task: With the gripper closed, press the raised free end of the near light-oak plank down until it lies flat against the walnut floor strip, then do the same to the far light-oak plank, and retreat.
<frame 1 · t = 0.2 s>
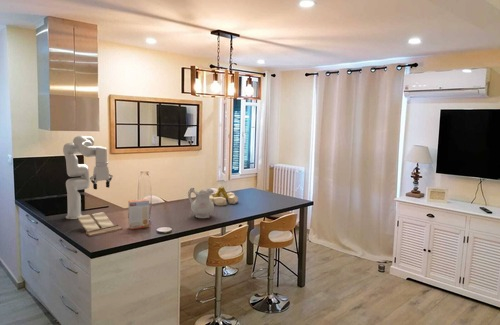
hand: (101, 188, 262), 31 cm above the kitchen counter, fingers open, 9 cm apart
plank near: (88, 223, 266), point 4 cm above the kitchen counter, hinge at 25.0°
plank far: (103, 220, 274), point 4 cm above the kitchen counter, hinge at 25.0°
laid floor strip: (104, 231, 262), on the kitchen counter
ceramic pitcher: (200, 216, 312), on the kitchen counter
campfire: (219, 202, 368), on the kitchen counter
cracker box: (138, 227, 275), on the kitchen counter
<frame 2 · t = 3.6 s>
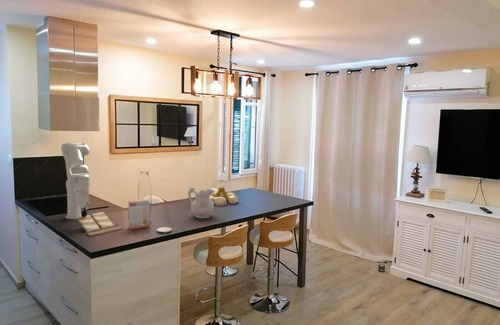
hand: (84, 216, 269), 8 cm above the kitchen counter, fingers closed
plank near: (88, 223, 266), point 4 cm above the kitchen counter, hinge at 24.0°, touching gripper
everything else where it was.
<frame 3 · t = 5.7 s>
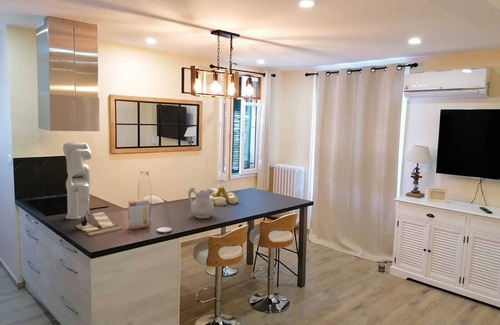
hand: (84, 225, 270), 1 cm above the kitchen counter, fingers closed
plank near: (88, 228, 267), point 1 cm above the kitchen counter, hinge at 0.8°, touching gripper
everything else where it was.
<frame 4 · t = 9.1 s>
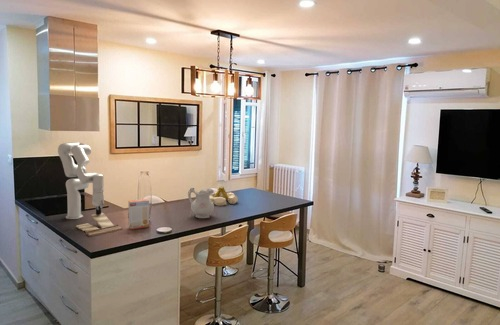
hand: (98, 214, 278), 8 cm above the kitchen counter, fingers closed
plank near: (88, 228, 267), point 1 cm above the kitchen counter, hinge at 0.8°
plank far: (103, 221, 274), point 4 cm above the kitchen counter, hinge at 22.4°
everything else where it was.
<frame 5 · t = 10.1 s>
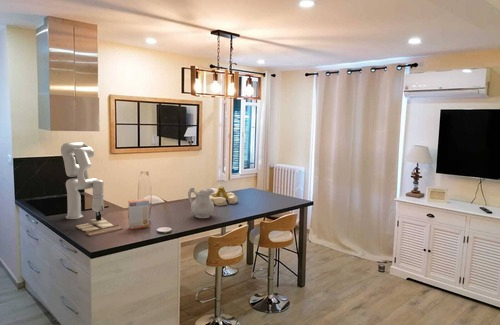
hand: (98, 219, 278), 4 cm above the kitchen counter, fingers closed
plank far: (102, 223, 275), point 2 cm above the kitchen counter, hinge at 8.1°, touching gripper
everything else where it was.
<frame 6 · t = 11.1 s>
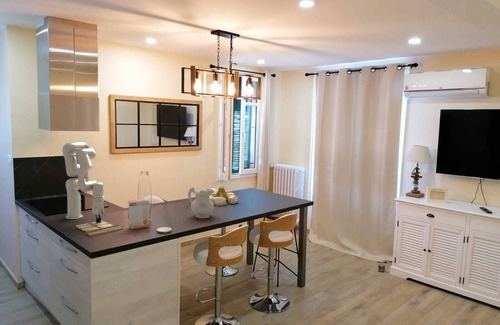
hand: (98, 222, 279), 1 cm above the kitchen counter, fingers closed
plank far: (102, 225, 275), point 1 cm above the kitchen counter, hinge at 0.7°, touching gripper
everything else where it was.
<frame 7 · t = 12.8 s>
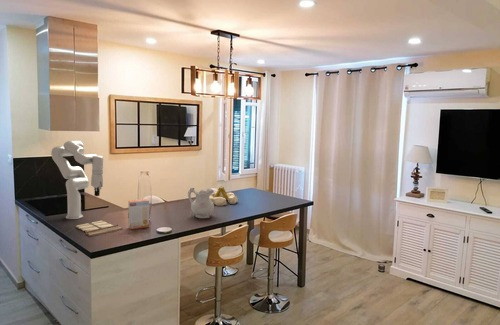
hand: (96, 195, 279), 21 cm above the kitchen counter, fingers closed
plank far: (102, 225, 275), point 1 cm above the kitchen counter, hinge at 0.7°
everything else where it was.
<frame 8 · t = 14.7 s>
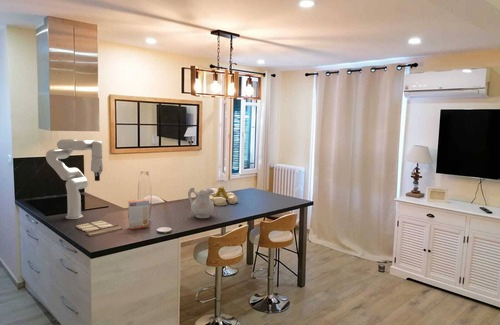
hand: (97, 180, 283), 32 cm above the kitchen counter, fingers closed
nothing on the kitchen counter moved.
at the end: plank near at +1° (first picture: +25°); plank far at +1° (first picture: +25°) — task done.
